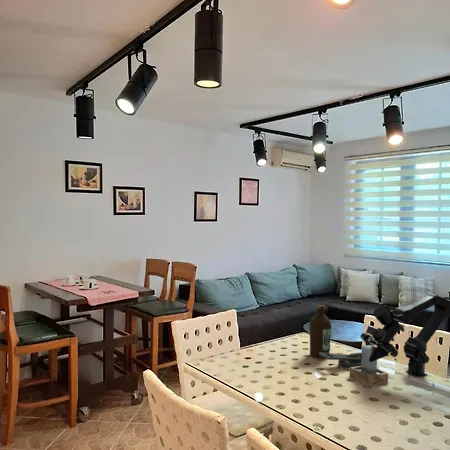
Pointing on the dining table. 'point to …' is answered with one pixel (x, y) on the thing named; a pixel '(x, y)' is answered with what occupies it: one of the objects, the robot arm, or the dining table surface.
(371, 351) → the bracket post
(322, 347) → the olive oil
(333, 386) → the dining table surface
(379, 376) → the well
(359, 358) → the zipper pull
